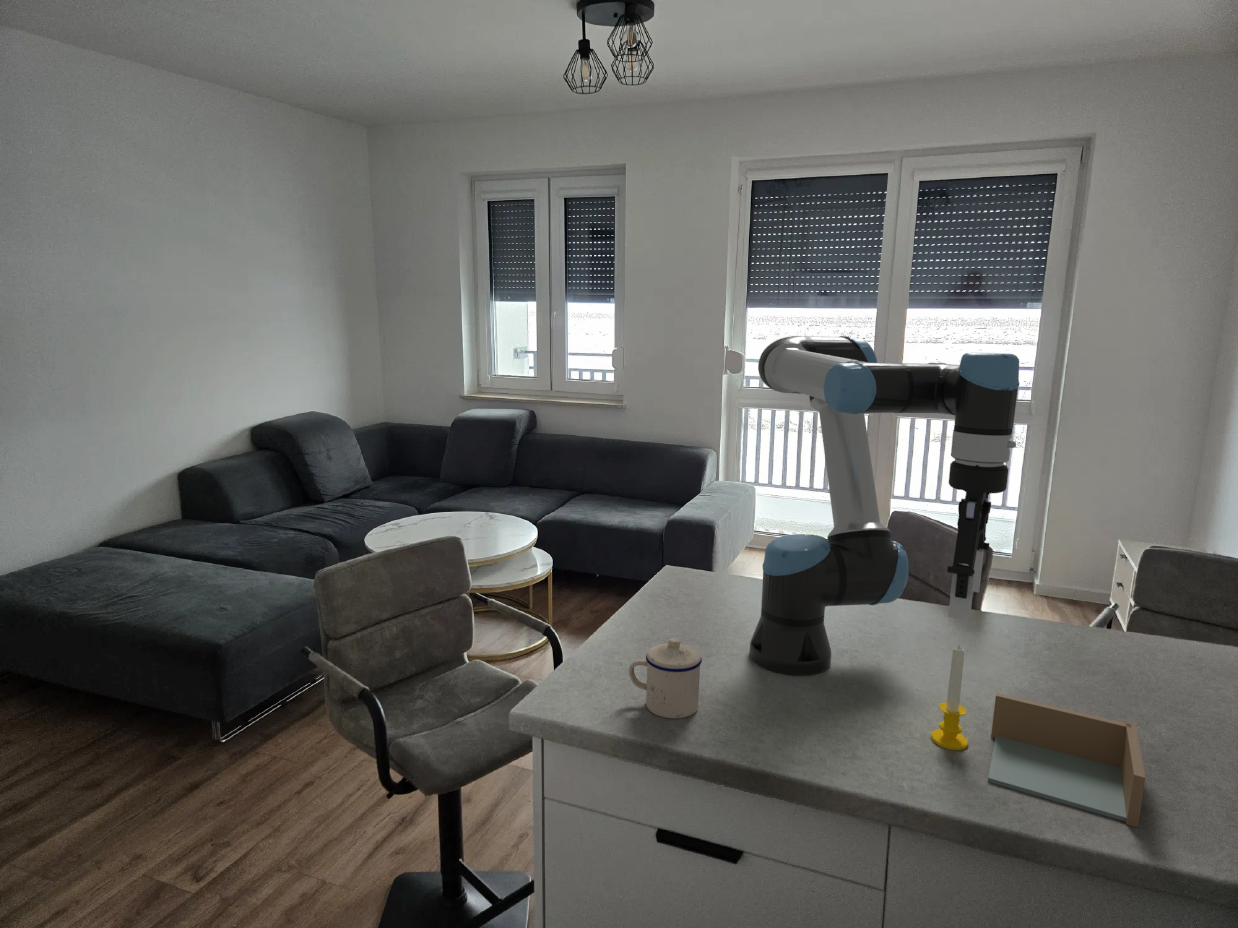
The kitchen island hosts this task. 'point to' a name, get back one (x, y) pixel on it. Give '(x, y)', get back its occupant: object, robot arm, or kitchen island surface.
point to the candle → (952, 709)
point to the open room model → (1068, 757)
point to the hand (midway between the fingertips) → (964, 603)
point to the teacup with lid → (670, 679)
